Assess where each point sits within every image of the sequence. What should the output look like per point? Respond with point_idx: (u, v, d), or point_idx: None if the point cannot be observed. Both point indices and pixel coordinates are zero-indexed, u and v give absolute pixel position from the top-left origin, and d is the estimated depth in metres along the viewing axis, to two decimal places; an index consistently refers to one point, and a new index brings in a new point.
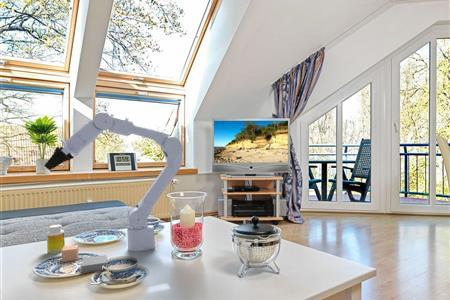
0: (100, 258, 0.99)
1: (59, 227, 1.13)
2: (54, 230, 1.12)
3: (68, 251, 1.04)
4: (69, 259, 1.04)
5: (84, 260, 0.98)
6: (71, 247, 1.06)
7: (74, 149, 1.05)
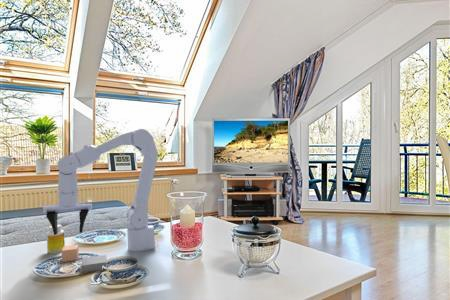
0: (99, 258, 1.00)
1: (59, 227, 1.13)
2: None
3: (68, 251, 1.04)
4: (69, 259, 1.04)
5: (84, 260, 0.98)
6: (71, 247, 1.06)
7: None
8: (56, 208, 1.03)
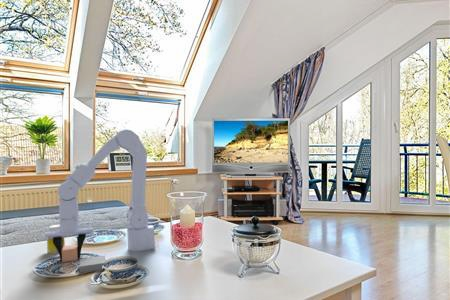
0: (98, 258, 0.99)
1: (59, 227, 1.13)
2: (54, 230, 1.12)
3: (68, 251, 1.04)
4: (69, 259, 1.04)
5: (82, 260, 0.98)
6: (71, 247, 1.06)
7: None
8: (58, 234, 1.03)
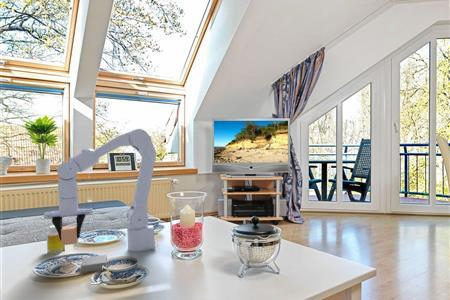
0: (100, 258, 1.00)
1: None
2: (54, 230, 1.12)
3: (67, 231, 1.03)
4: (68, 239, 1.04)
5: (84, 260, 0.98)
6: (70, 227, 1.06)
7: None
8: (57, 214, 1.02)
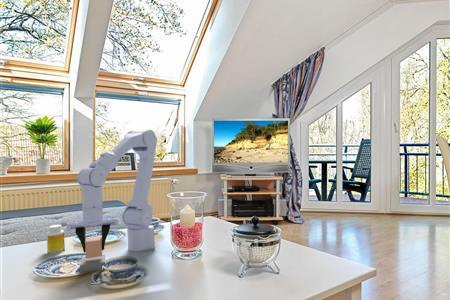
0: (98, 258, 1.00)
1: (59, 227, 1.13)
2: (54, 230, 1.12)
3: (92, 242, 0.96)
4: (93, 251, 0.96)
5: (82, 259, 0.98)
6: (95, 238, 0.98)
7: None
8: (81, 224, 0.95)
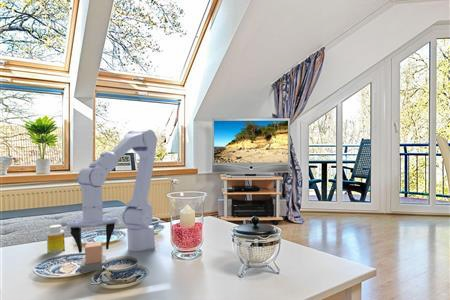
0: None
1: (59, 227, 1.13)
2: (54, 230, 1.12)
3: (91, 248, 0.96)
4: (93, 257, 0.96)
5: (83, 260, 0.98)
6: (94, 244, 0.98)
7: None
8: (81, 224, 0.95)
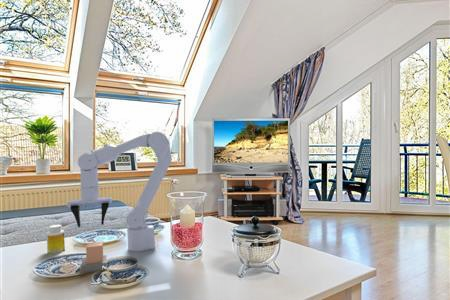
0: None
1: (59, 227, 1.13)
2: (54, 230, 1.12)
3: (93, 248, 0.96)
4: (94, 257, 0.96)
5: (83, 260, 0.98)
6: (95, 244, 0.98)
7: None
8: (80, 202, 1.09)
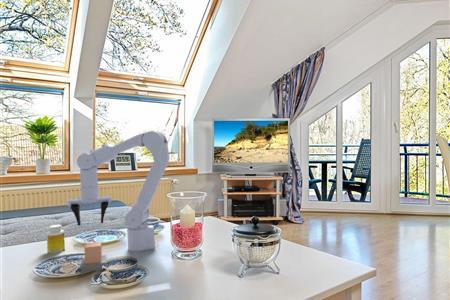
0: None
1: (59, 227, 1.13)
2: (54, 230, 1.12)
3: (91, 248, 0.96)
4: (92, 257, 0.96)
5: (83, 260, 0.98)
6: (94, 244, 0.98)
7: None
8: (79, 201, 1.12)
